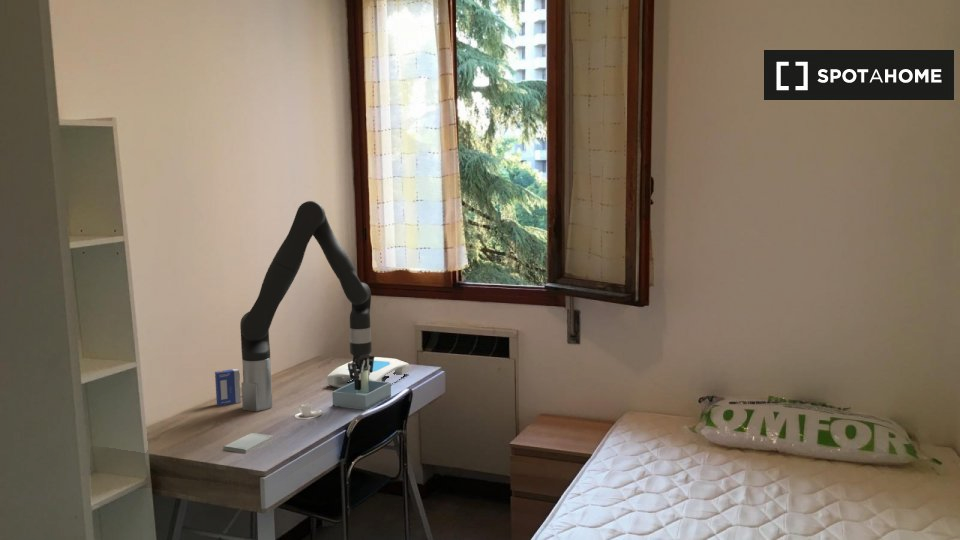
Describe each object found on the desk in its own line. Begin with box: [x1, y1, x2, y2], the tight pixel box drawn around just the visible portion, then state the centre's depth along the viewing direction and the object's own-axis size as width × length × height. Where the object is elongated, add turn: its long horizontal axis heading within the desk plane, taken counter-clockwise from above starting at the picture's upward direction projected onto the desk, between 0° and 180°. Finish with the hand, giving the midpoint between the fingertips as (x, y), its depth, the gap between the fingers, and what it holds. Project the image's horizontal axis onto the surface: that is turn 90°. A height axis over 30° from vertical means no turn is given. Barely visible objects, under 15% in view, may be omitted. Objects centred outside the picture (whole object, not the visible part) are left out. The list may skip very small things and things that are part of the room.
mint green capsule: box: [355, 369, 369, 393], centre depth 258 cm, size 5×5×8 cm
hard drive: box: [222, 432, 274, 454], centre depth 217 cm, size 2×8×12 cm
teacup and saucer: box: [294, 402, 323, 420], centre depth 243 cm, size 9×8×4 cm
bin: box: [331, 380, 392, 411], centre depth 259 cm, size 17×13×5 cm
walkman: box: [214, 368, 242, 407], centre depth 257 cm, size 8×3×12 cm, turn 123°
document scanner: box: [326, 356, 410, 389], centre depth 285 cm, size 21×28×6 cm
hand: (362, 387), depth 258 cm, fingers closed on mint green capsule, 4 cm apart
